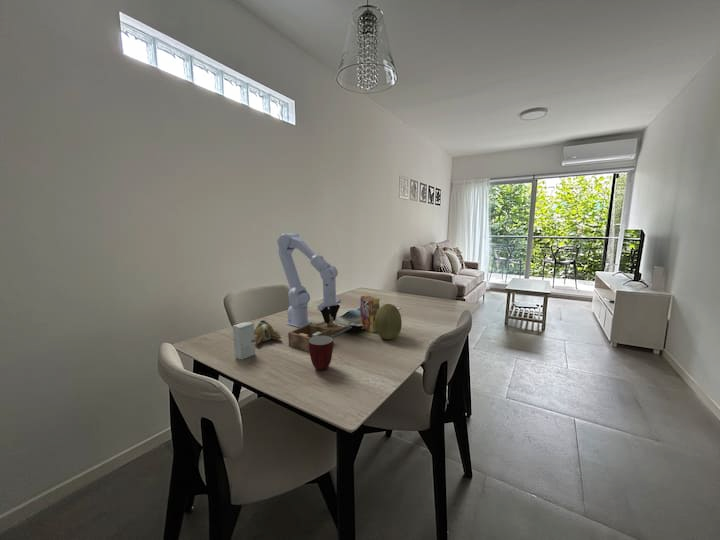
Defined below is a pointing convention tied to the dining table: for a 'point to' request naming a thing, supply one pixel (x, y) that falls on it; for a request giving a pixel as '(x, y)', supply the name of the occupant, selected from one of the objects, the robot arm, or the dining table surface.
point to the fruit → (388, 321)
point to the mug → (321, 351)
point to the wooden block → (331, 326)
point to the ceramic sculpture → (264, 332)
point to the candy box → (369, 312)
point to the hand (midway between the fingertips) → (330, 321)
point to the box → (303, 341)
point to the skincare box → (244, 340)
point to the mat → (340, 332)
